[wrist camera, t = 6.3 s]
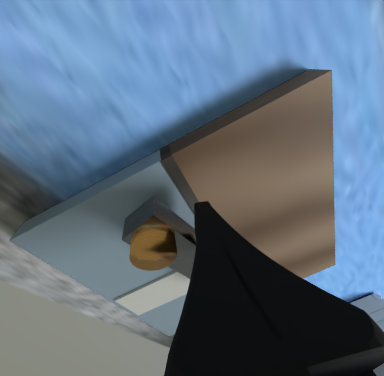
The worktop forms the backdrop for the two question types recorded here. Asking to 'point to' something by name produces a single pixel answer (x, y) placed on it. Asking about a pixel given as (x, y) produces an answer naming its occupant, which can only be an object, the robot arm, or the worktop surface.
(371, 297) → the container set
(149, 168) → the door leaf
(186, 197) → the jamb board
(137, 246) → the lock bar
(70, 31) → the worktop surface
